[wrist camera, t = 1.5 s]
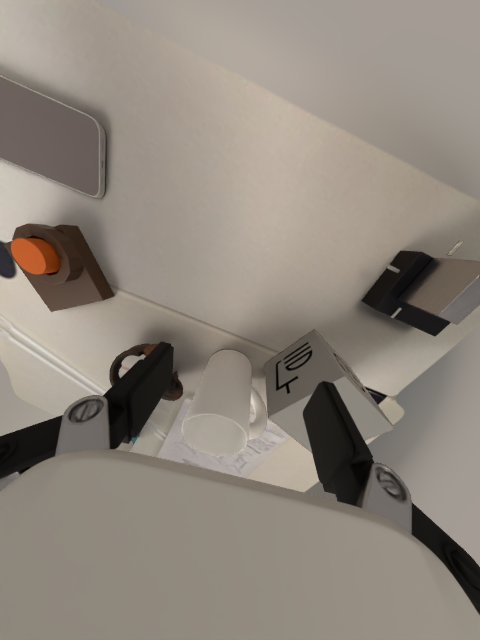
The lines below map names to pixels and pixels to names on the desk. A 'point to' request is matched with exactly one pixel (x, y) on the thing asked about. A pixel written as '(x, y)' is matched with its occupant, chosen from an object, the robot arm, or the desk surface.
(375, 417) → the icon cube
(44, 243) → the power button
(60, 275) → the control block
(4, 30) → the desk surface
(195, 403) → the mug
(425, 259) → the switch panel
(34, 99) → the smartphone
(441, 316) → the red-banded grey bar
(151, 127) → the desk surface
